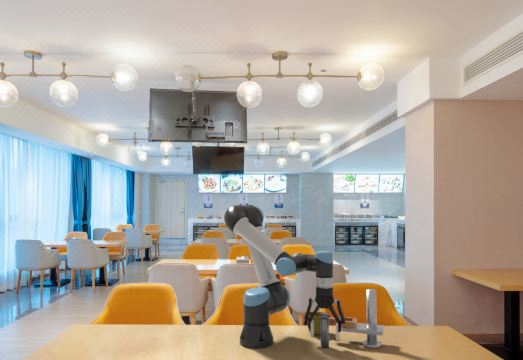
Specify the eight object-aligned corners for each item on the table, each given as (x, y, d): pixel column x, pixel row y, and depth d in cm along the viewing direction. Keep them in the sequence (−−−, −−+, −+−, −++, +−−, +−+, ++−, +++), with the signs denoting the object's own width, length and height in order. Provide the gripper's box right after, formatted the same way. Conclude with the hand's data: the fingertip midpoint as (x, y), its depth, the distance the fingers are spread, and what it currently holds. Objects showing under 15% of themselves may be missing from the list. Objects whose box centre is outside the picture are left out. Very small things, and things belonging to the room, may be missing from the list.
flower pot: (324, 330, 205) (324, 311, 205) (325, 336, 196) (325, 316, 197) (306, 329, 206) (306, 311, 206) (306, 335, 197) (306, 316, 198)
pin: (318, 348, 180) (318, 315, 181) (320, 344, 184) (320, 312, 185) (329, 349, 178) (328, 316, 179) (331, 345, 183) (330, 313, 183)
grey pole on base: (384, 342, 187) (383, 288, 188) (382, 349, 178) (382, 293, 179) (327, 336, 196) (326, 284, 197) (322, 342, 187) (322, 288, 188)
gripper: (296, 286, 183) (297, 337, 182) (349, 290, 175) (350, 343, 174) (301, 283, 190) (301, 332, 189) (352, 286, 182) (352, 338, 181)
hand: (324, 337), depth 182 cm, fingers open, 10 cm apart
